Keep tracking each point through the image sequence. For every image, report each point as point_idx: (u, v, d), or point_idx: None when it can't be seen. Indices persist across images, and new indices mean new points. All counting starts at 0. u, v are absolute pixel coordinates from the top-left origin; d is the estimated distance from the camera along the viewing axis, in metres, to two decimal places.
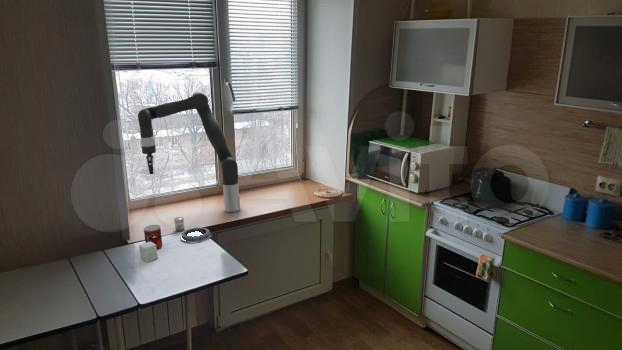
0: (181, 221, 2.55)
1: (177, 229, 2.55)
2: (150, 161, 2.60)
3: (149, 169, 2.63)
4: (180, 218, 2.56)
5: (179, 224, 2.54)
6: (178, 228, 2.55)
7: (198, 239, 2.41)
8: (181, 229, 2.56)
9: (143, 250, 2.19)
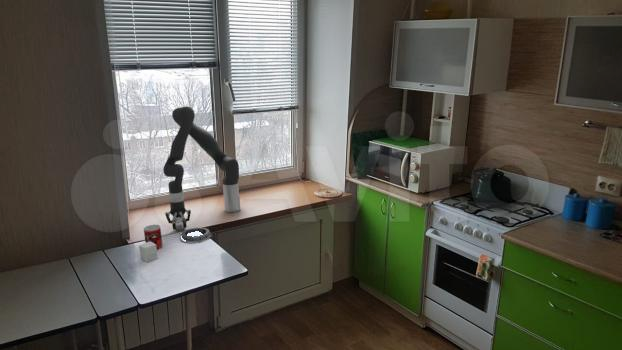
0: (181, 221, 2.55)
1: (177, 229, 2.55)
2: None
3: (185, 223, 2.57)
4: (180, 218, 2.56)
5: (179, 224, 2.54)
6: (178, 228, 2.55)
7: (198, 239, 2.41)
8: (181, 229, 2.56)
9: (143, 250, 2.19)
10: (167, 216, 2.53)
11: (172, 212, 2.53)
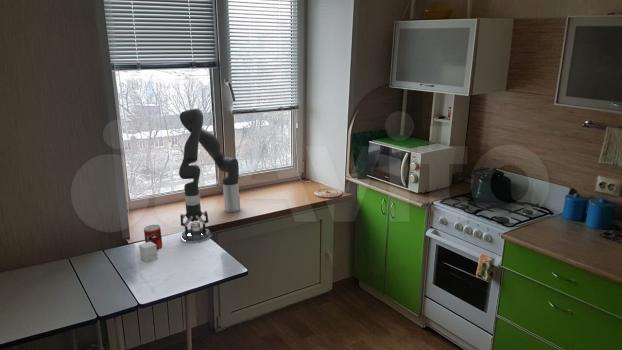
0: (198, 226, 2.45)
1: (193, 235, 2.45)
2: (207, 215, 2.47)
3: (204, 225, 2.47)
4: (197, 223, 2.46)
5: (195, 229, 2.44)
6: (194, 233, 2.45)
7: (198, 239, 2.41)
8: (197, 234, 2.46)
9: (143, 250, 2.19)
10: (182, 218, 2.42)
11: (188, 215, 2.43)
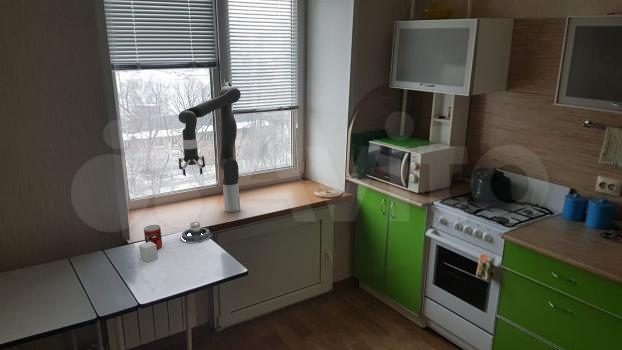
0: (198, 226, 2.45)
1: (193, 234, 2.45)
2: None
3: (201, 169, 2.62)
4: (197, 223, 2.47)
5: (195, 229, 2.45)
6: (195, 233, 2.45)
7: (198, 239, 2.41)
8: (198, 234, 2.46)
9: (143, 250, 2.19)
10: (180, 161, 2.57)
11: (186, 159, 2.58)
